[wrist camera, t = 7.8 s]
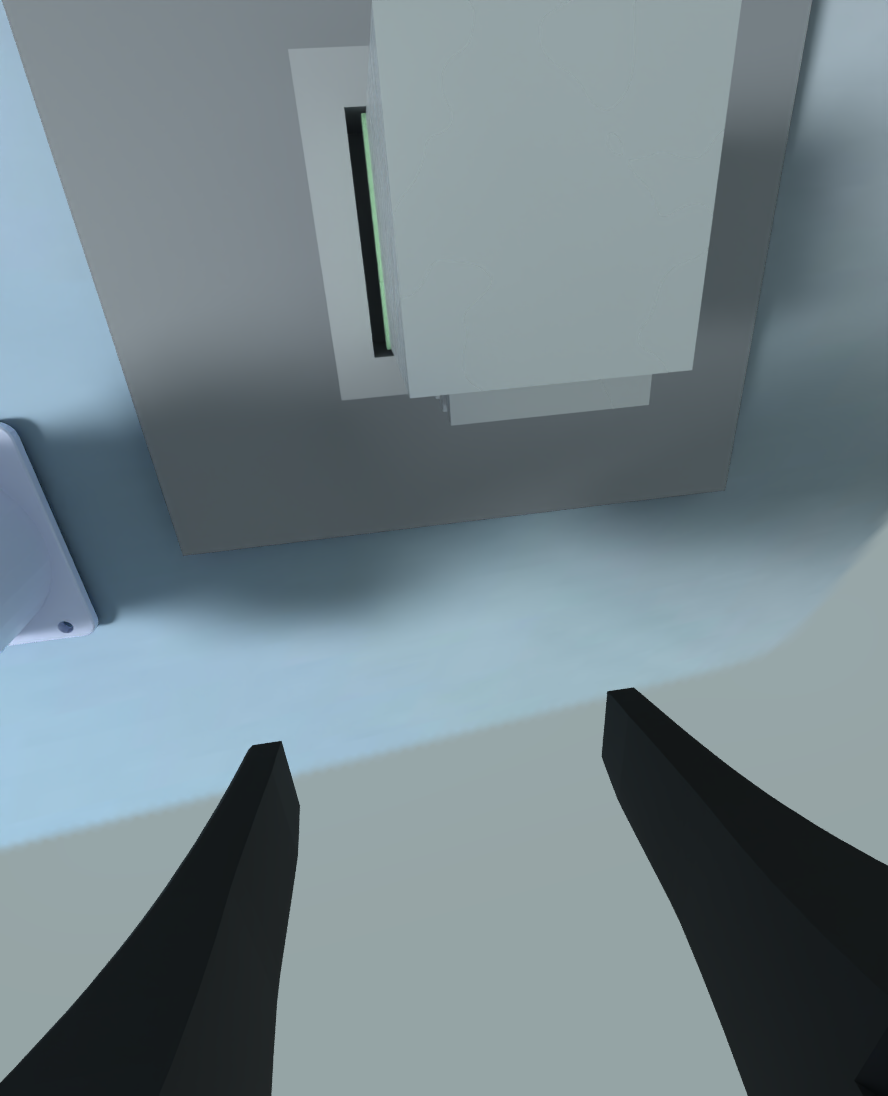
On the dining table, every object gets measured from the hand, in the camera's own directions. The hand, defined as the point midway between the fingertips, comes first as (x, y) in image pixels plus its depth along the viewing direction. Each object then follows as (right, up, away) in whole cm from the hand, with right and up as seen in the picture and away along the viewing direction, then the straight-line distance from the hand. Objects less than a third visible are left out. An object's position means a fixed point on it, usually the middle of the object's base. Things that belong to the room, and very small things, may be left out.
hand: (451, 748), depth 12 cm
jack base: (0, +14, +5) cm, 15 cm away
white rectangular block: (0, +12, +1) cm, 12 cm away
